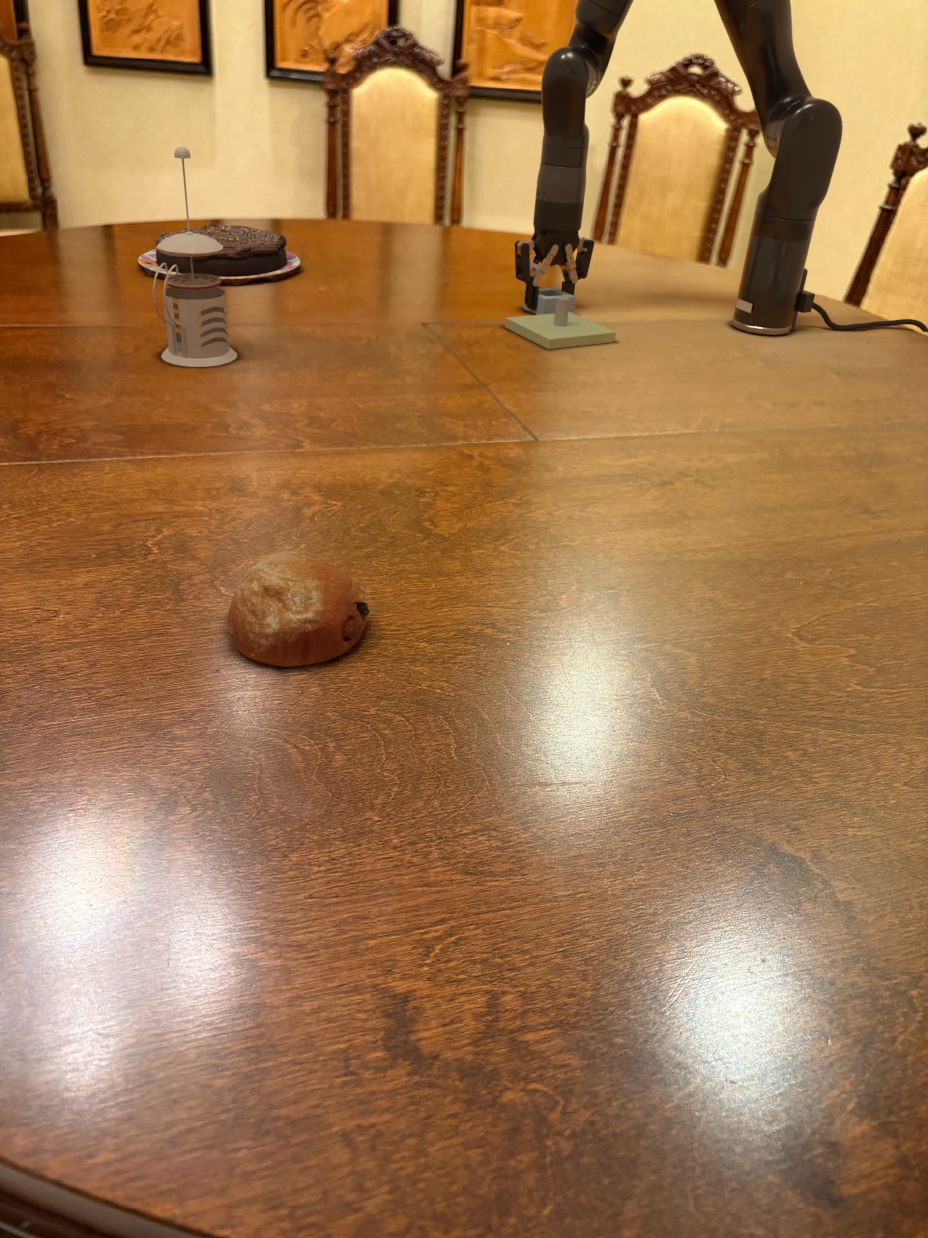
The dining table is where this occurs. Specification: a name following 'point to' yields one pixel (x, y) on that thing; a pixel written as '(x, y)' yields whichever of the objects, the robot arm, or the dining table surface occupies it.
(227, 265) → the chocolate cake
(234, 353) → the french press
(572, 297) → the gray rectangular block
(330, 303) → the dining table surface
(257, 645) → the bread roll
